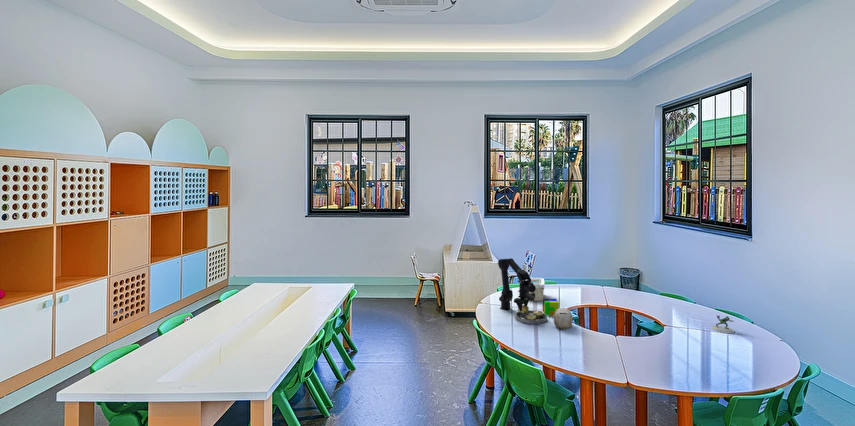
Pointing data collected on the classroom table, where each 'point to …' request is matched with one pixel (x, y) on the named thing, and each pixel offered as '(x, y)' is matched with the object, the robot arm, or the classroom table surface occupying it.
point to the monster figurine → (723, 328)
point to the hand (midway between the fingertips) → (523, 309)
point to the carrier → (531, 317)
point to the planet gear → (524, 309)
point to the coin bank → (563, 318)
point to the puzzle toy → (550, 306)
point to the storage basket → (538, 288)
